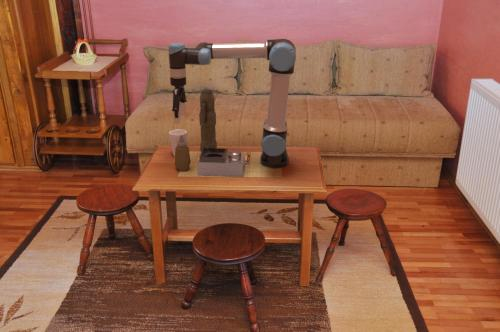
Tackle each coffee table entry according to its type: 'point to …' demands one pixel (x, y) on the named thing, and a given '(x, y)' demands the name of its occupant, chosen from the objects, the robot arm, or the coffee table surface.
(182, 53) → the robot arm
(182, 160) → the squeeze bottle
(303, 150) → the coffee table surface
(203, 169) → the grey box with recess
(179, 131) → the foam cup
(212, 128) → the dark brown statue
